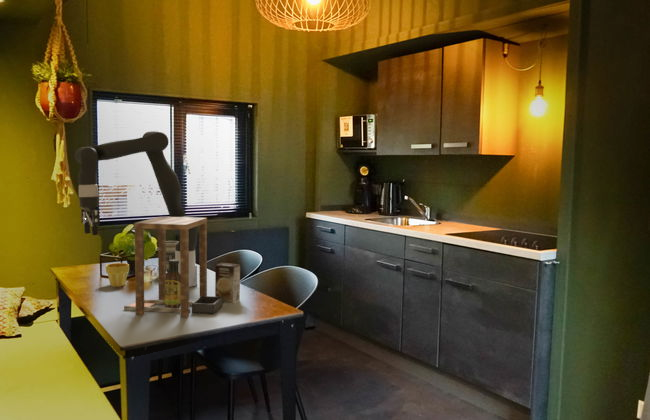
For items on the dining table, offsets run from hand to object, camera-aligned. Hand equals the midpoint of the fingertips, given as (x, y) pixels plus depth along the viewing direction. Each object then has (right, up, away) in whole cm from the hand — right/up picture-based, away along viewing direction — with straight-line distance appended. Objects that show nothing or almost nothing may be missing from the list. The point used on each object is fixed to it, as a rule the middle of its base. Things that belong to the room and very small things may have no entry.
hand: (91, 234), depth 230 cm
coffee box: (+56, -29, +7) cm, 63 cm away
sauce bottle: (+36, -30, -5) cm, 47 cm away
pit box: (+50, -30, -7) cm, 59 cm away
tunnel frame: (+32, -30, -5) cm, 44 cm away
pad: (+22, -30, -4) cm, 37 cm away
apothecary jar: (+18, -24, +54) cm, 62 cm away
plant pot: (-1, -26, +33) cm, 42 cm away
